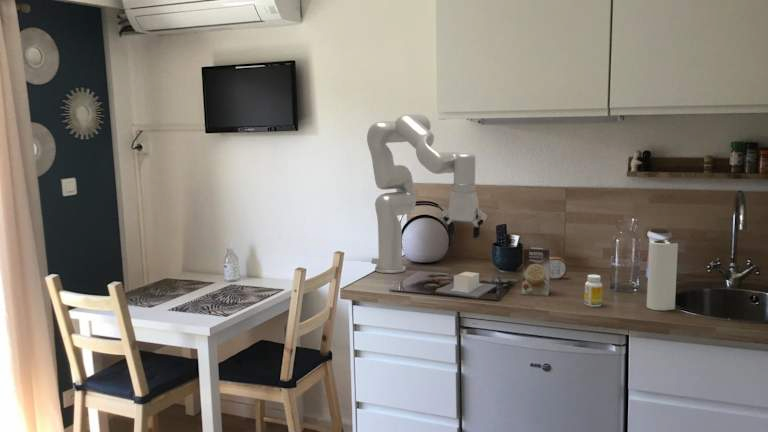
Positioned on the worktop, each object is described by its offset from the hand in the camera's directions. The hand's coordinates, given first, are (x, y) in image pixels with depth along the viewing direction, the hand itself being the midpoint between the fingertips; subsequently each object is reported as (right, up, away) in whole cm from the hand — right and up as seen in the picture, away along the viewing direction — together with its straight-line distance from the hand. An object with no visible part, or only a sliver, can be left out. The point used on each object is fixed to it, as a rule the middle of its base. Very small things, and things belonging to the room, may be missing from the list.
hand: (463, 236), depth 232 cm
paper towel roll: (+58, -22, -28) cm, 68 cm away
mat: (+1, -19, 0) cm, 19 cm away
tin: (+33, -17, +14) cm, 40 cm away
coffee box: (+24, -20, -6) cm, 32 cm away
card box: (+1, -18, 0) cm, 18 cm away
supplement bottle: (+39, -22, -22) cm, 50 cm away
